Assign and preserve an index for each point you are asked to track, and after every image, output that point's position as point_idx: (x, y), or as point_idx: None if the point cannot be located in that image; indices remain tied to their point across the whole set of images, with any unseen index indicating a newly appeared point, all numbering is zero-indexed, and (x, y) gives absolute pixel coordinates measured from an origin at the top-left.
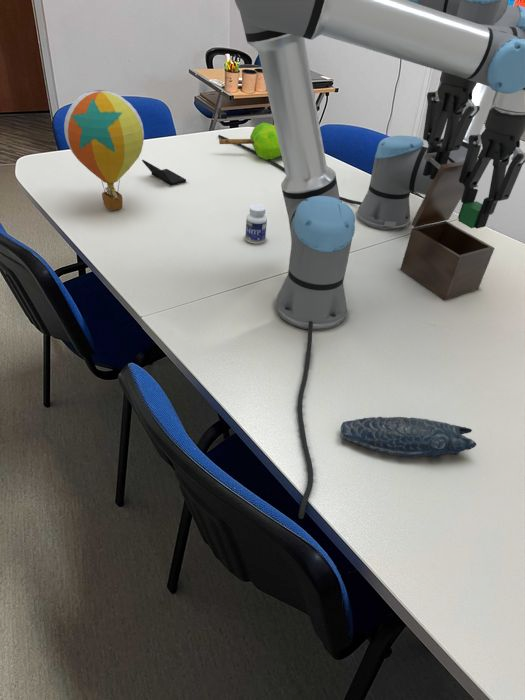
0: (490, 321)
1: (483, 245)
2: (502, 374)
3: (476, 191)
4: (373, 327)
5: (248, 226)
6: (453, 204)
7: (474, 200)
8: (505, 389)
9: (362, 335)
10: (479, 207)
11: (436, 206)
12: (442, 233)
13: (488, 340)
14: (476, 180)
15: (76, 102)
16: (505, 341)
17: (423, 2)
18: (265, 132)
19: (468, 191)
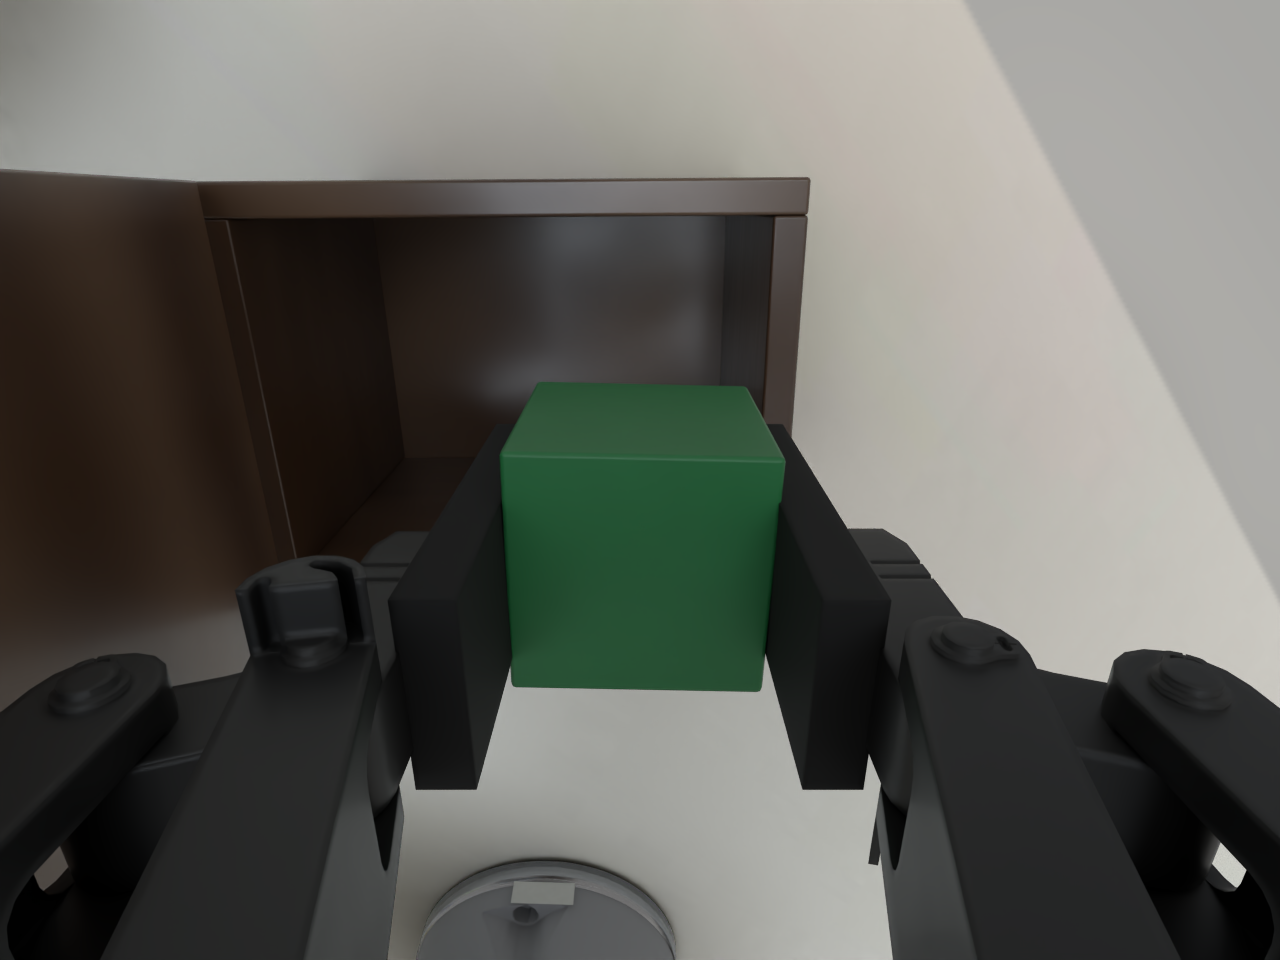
0: (986, 391)
1: (708, 215)
2: (1217, 639)
3: (464, 613)
4: (737, 841)
5: None
6: (130, 267)
7: (494, 507)
8: (1262, 690)
9: (755, 892)
10: (690, 588)
11: (199, 571)
12: (281, 221)
13: (1064, 522)
14: (369, 834)
15: None
16: (1122, 457)
17: None
18: None
19: (457, 785)
